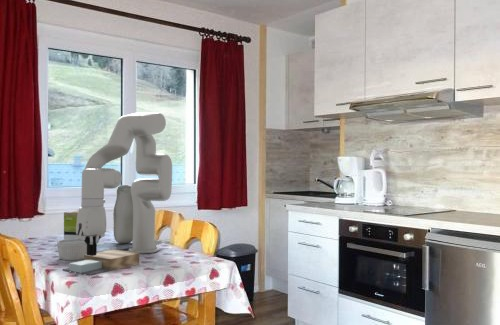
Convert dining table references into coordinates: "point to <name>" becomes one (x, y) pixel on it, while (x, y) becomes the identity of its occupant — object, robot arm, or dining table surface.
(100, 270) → the mat
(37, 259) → the dining table surface
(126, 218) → the grey bottle
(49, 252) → the dining table surface
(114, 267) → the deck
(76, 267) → the grey-green rectangular block
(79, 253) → the ramekin
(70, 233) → the tea box
